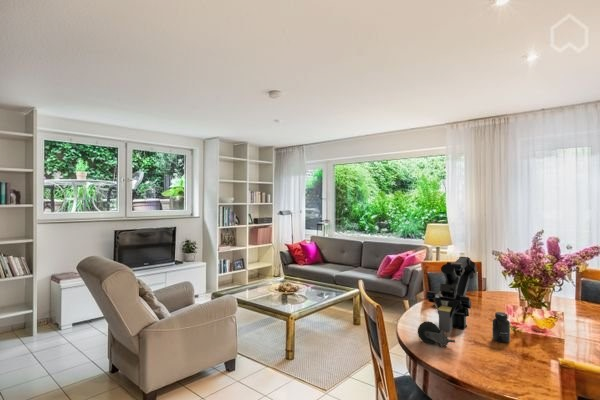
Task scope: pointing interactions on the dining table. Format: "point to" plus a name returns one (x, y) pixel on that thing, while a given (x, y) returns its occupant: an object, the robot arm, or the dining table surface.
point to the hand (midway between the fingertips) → (444, 316)
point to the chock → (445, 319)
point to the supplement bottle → (501, 328)
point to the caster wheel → (432, 334)
